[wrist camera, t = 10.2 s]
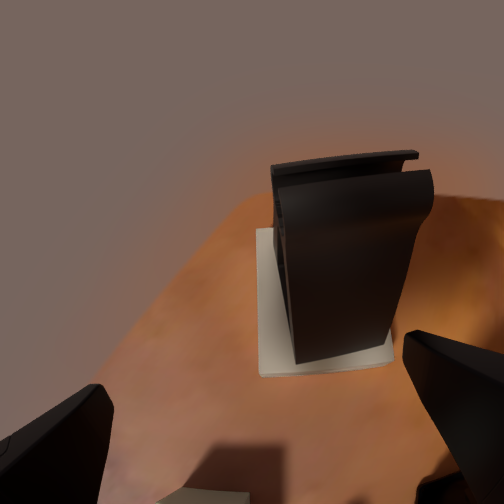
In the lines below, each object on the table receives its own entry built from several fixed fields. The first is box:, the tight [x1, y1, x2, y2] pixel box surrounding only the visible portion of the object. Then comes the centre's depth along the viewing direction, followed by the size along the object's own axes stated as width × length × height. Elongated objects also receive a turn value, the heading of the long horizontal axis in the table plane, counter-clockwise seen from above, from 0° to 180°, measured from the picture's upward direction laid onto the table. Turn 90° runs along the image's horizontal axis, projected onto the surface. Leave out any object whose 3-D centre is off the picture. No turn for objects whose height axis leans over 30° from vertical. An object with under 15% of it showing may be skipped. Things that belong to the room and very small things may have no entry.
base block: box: [256, 228, 395, 378], centre depth 22 cm, size 9×11×2 cm
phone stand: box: [271, 150, 434, 365], centre depth 15 cm, size 9×6×12 cm, turn 7°
